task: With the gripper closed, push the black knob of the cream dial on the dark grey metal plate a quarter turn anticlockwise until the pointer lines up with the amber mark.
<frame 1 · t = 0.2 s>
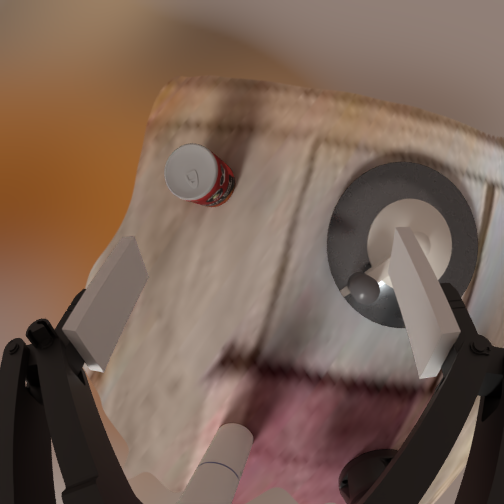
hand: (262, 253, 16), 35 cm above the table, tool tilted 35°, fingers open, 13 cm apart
canned food: (214, 184, 52), on the table
dial: (404, 255, 41), point 6 cm above the table, hinge at 0.0°
cylindrical container: (235, 437, 54), on the table
dial plate: (405, 245, 47), on the table
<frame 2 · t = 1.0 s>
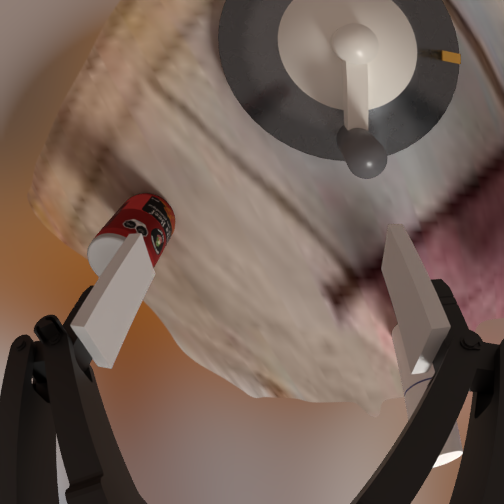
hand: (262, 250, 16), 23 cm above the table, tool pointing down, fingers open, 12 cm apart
canned food: (150, 215, 43), on the table
dial: (357, 68, 24), point 6 cm above the table, hinge at 0.0°
cylindrical container: (409, 329, 51), on the table
dial plate: (344, 45, 27), on the table
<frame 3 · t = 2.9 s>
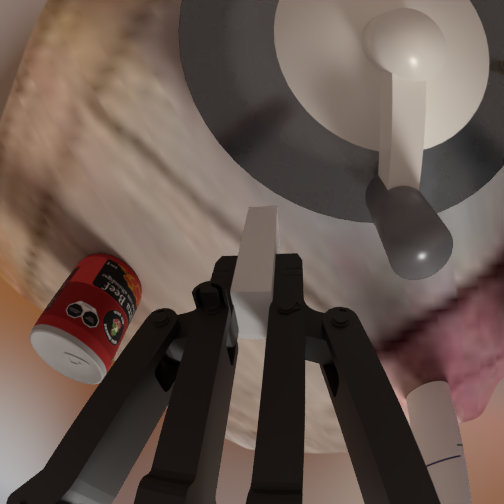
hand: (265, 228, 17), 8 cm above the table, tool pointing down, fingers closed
canned food: (111, 278, 32), on the table
dial: (411, 87, 13), point 6 cm above the table, hinge at 0.0°
cylindrical container: (427, 392, 40), on the table
dial plate: (378, 44, 17), on the table
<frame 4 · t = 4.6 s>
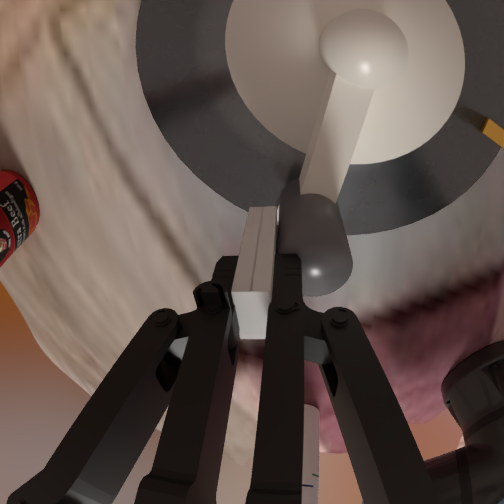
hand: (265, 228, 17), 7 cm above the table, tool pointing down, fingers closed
canned food: (16, 199, 26), on the table
dial: (353, 93, 13), point 6 cm above the table, hinge at 5.1°, touching gripper
cylindrical container: (295, 412, 44), on the table
dial plate: (344, 48, 17), on the table
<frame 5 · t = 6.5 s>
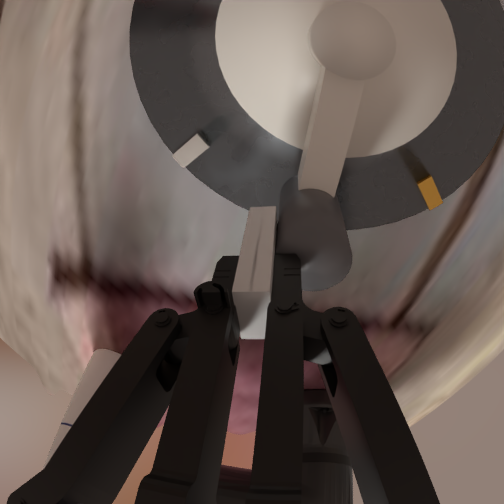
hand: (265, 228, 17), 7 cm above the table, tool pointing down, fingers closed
dial: (343, 85, 13), point 6 cm above the table, hinge at 42.9°, touching gripper
cylindrical container: (115, 362, 42), on the table
dial plate: (335, 43, 17), on the table
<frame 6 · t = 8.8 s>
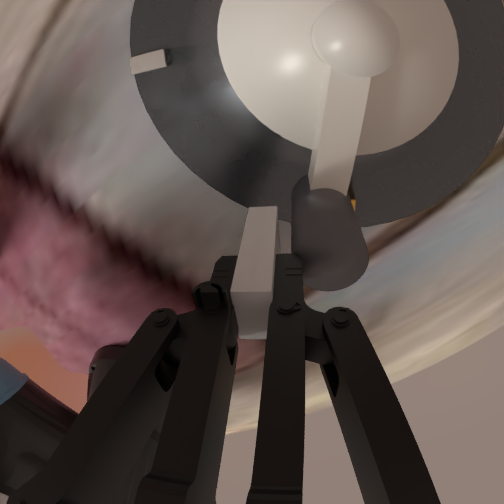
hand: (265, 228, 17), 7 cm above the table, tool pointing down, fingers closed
dial: (350, 83, 13), point 6 cm above the table, hinge at 78.7°
dial plate: (337, 41, 16), on the table
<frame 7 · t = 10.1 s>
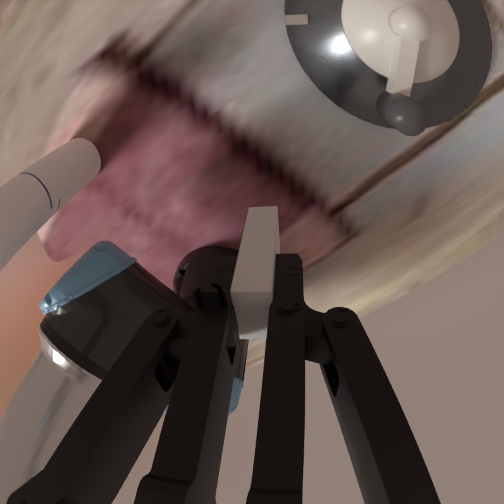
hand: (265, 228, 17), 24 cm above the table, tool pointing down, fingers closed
dial: (411, 43, 23), point 6 cm above the table, hinge at 78.7°
cylindrical container: (82, 159, 42), on the table
dial plate: (395, 25, 27), on the table
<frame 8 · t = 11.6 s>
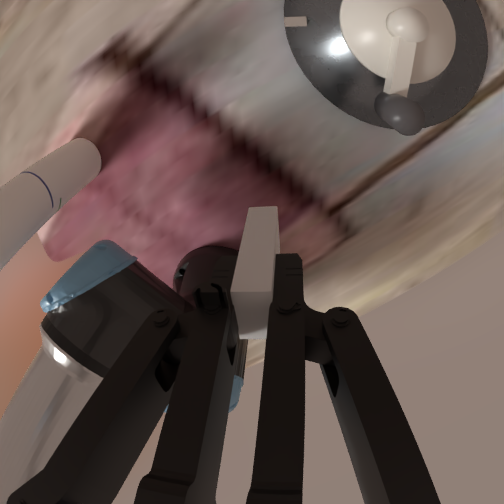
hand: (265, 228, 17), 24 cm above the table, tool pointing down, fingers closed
dial: (408, 44, 24), point 6 cm above the table, hinge at 78.7°
cylindrical container: (82, 159, 42), on the table
dial plate: (392, 27, 28), on the table
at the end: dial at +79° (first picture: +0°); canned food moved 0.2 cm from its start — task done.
